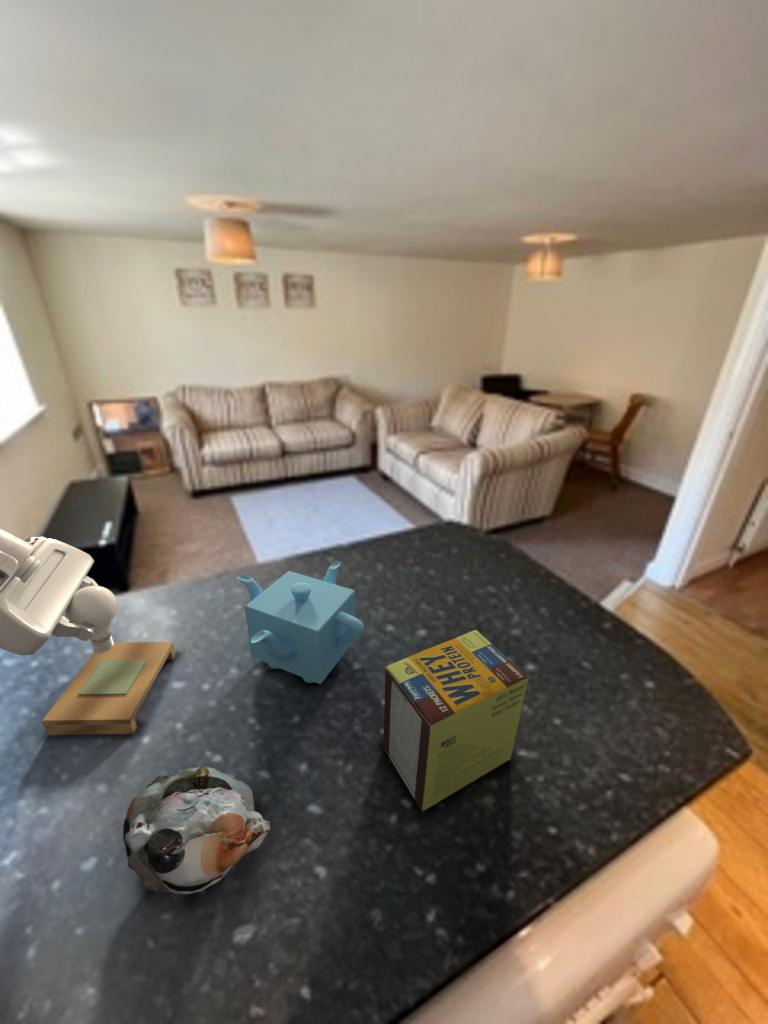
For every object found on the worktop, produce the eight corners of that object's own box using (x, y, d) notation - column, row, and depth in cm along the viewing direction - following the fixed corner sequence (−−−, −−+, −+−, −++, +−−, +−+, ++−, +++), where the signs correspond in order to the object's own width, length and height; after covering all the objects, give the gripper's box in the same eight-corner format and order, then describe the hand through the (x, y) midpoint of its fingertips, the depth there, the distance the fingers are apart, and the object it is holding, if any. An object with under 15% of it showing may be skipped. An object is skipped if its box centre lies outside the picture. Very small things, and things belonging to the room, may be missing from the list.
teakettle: (370, 679, 75) (371, 608, 69) (255, 710, 69) (245, 635, 63) (339, 613, 91) (338, 550, 85) (244, 632, 85) (235, 566, 79)
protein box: (512, 759, 63) (530, 676, 56) (421, 814, 56) (430, 727, 49) (465, 705, 71) (476, 627, 64) (380, 747, 64) (383, 665, 57)
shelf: (48, 735, 64) (41, 719, 63) (106, 655, 79) (101, 641, 77) (133, 734, 65) (128, 718, 63) (175, 655, 79) (172, 640, 78)
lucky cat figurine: (264, 776, 59) (284, 749, 50) (248, 895, 51) (268, 891, 42) (142, 769, 55) (138, 738, 46) (103, 897, 47) (89, 894, 38)
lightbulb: (108, 668, 65) (89, 605, 60) (69, 662, 65) (47, 600, 61) (137, 638, 70) (122, 579, 66) (101, 633, 71) (83, 575, 66)
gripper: (19, 546, 68) (106, 591, 75) (-62, 634, 51) (61, 682, 57) (44, 518, 68) (130, 565, 74) (-30, 596, 50) (91, 650, 56)
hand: (99, 617), depth 65 cm, fingers closed on lightbulb, 6 cm apart
